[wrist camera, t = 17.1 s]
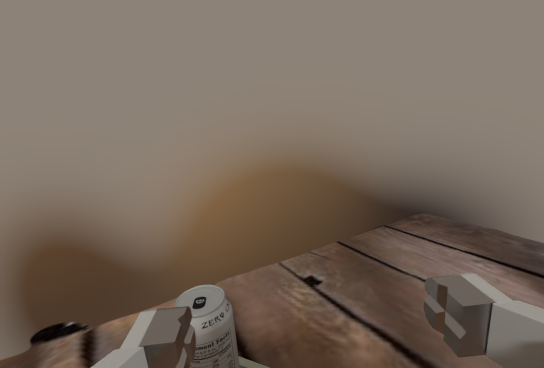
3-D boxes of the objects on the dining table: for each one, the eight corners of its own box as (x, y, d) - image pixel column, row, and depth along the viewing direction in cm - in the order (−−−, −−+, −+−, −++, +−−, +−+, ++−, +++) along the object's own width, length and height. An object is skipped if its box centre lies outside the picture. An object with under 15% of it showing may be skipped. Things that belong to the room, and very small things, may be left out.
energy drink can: (245, 387, 34) (232, 278, 31) (244, 442, 28) (228, 315, 25) (195, 394, 34) (177, 284, 30) (184, 451, 28) (160, 323, 25)
